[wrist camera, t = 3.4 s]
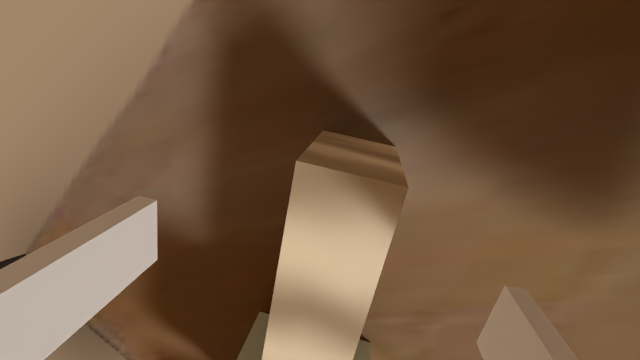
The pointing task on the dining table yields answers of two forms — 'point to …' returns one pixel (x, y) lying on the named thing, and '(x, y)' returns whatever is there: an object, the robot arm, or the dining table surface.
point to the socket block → (256, 339)
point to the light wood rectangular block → (333, 246)
